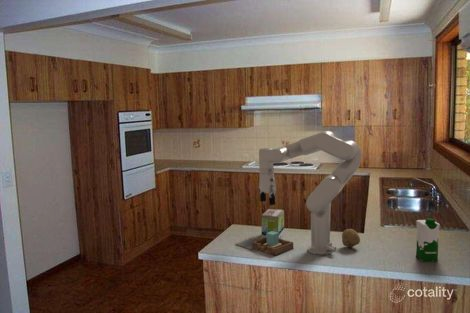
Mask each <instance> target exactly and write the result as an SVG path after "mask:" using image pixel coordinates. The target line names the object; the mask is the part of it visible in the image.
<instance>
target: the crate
mask: <svg viewBox="0 0 470 313" xmlns="http://www.w3.org/2000/svg"><path fill="white" fill-rule="evenodd" d="M256 240H257V241H254V242H252V246H253V248H254V249H253V250H255V251H259V252H262V253H265V254H268V255H270V256H274V257H278V256H280V255H283V254H284V253H286V252H290V251H292V250H294V242H293V241H290V240H287V239H283V238H281V239H280V238H279V244H277V245H275V246H271V245H268V244H267V237H265V238H263V239H262V238H260V239H256Z"/></svg>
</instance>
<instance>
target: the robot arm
mask: <svg viewBox="0 0 470 313" xmlns="http://www.w3.org/2000/svg"><path fill="white" fill-rule="evenodd" d="M321 151H322V152H324V153H325V154H326V153H327V154H328V155H330V156H333V157H335V158H337V159H339V160H341V161H340V163H338V165H337V166H336V167H335V168H334V169H333V171H332V172H331V173H330V174H328V175H327V176H326V177H324V178H323V179H322V180H321V181H320V183H318V184H317V186H316V187H315V188H314V190H313V191H312V192H311V193H310V194H309V195H308V197H307V198H306V201H305V204H306V208H307V209H308V211H310V245H309V246H308V248H307V250H308V253H311V254H312V255H313V254H314V255H319V256H321V255H322V256H324V255H325V256H326V255H331V254H333V253H336V250H337V246H333V243H332V242H331V208H332V201H333V200H334V199H335V198H336V197H337V196H338V194H340V192H342V190H343V188H344V187H345V185H346V184H347V183H348V182H349V180H351V178H352V177H353V176H354V174H356V172H357V170H358V169H359V167H360V165H361V162H362V159H363V158H362V150H361V148H360V146H359V144H358V143H357V142H356V141H354V140H349V139H348V140H343V139H340V138H337V137H336V135H335V134H334V132H332V131H331V130H330V131H329V130H324V131H321V132H318V133H316V134H312V135H309V136H307V137H303V138H301V139H299V140H297V141H295V142H293V143H289V144H287V145H283V146H280V147H277V148H272V147H271V148H270V147H263V148H259V150H258V165H259V166H258V168H259V172H258V173H259V182H258V183H259V184H258V186H257V188H258V191H259V198H260V200H259V201H260V202H261V203H262V202H266V201H267V195H266V194H268V196H269V197H268V201H269V206H273V205H276V196H277V186H276V179H275V172H274V163H275V164H281V163H283V162H285V161H288V160H291V159H294V158H297V157H300V156H307V155H310V154H314V153H317V152H321Z"/></svg>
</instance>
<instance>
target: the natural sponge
mask: <svg viewBox="0 0 470 313" xmlns="http://www.w3.org/2000/svg"><path fill="white" fill-rule="evenodd" d="M341 239H342V240H341V241H342V245H343V246H345V247H347V248H348V249H350V248H353V247H354V246H357V245H359V244H360V243H361V238H360V236H359V234H358V232H357V231H356V230H355V229H353V228H347V229H345V230H344V231H343V232H342V233H341Z"/></svg>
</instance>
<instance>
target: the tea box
mask: <svg viewBox="0 0 470 313" xmlns="http://www.w3.org/2000/svg"><path fill="white" fill-rule="evenodd" d="M271 231H274V232H277V233H279V238H280V239H282V237H283V236H284V235H285V210H284V209H276V208H275V209H272V208H268V209H266V210H265V212H263V213H262V214H261V239H263V238H265V237H267V234H266V233H268V232H271ZM283 234H284V235H283Z"/></svg>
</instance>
